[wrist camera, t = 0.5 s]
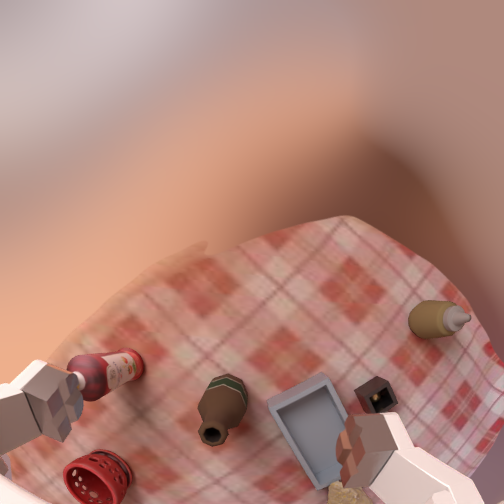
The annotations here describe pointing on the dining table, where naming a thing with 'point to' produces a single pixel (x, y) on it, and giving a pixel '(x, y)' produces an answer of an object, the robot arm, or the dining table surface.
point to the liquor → (105, 371)
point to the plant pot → (98, 477)
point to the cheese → (346, 495)
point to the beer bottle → (221, 408)
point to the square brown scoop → (371, 389)
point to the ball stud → (375, 397)
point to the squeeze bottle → (437, 319)
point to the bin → (312, 426)
